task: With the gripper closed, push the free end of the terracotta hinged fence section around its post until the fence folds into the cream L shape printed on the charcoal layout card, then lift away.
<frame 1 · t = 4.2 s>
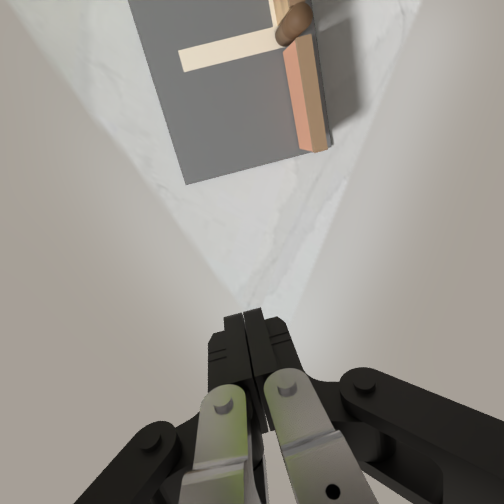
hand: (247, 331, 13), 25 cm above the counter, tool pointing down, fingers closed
layout card: (234, 55, 31), on the counter
hinged fence section: (304, 99, 30), point 3 cm above the counter, hinge at 0.0°
fixed fence section: (284, 35, 31), resting on layout card
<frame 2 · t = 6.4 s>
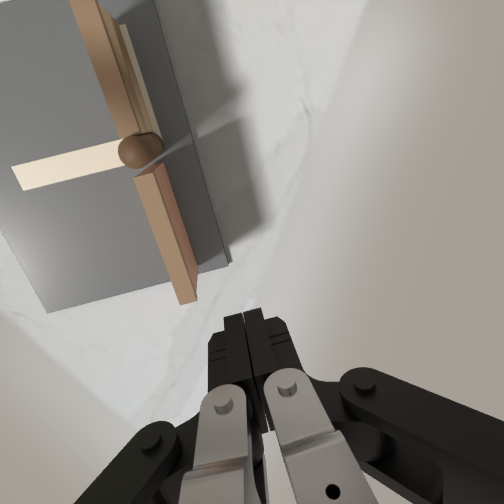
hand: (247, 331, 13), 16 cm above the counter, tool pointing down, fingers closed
layout card: (89, 168, 25), on the counter
hinged fence section: (172, 230, 24), point 3 cm above the counter, hinge at 0.0°
fixed fence section: (151, 145, 24), resting on layout card
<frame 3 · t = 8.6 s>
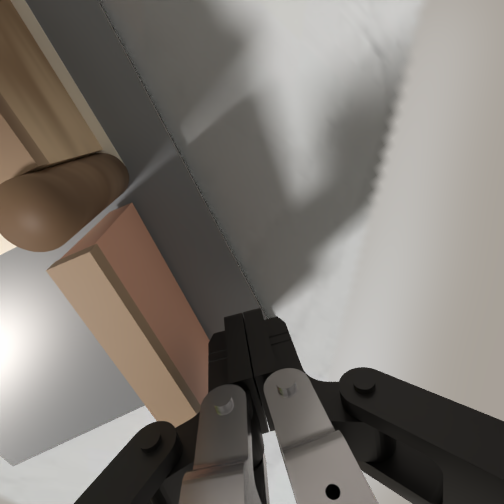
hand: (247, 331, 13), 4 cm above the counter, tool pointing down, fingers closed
layout card: (10, 237, 14), on the counter
hinged fence section: (165, 331, 13), point 3 cm above the counter, hinge at -3.0°, touching gripper
fixed fence section: (105, 176, 13), resting on layout card
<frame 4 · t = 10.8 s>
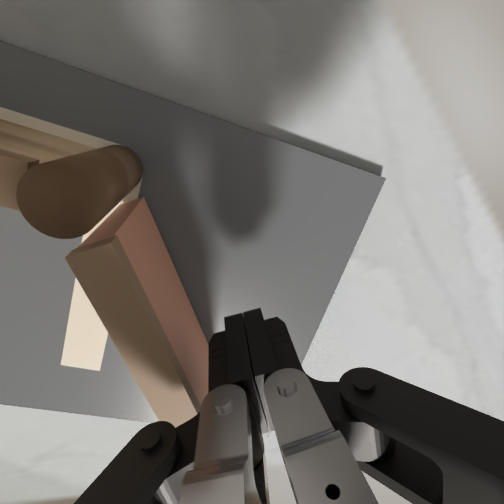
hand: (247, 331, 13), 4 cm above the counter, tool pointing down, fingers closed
layout card: (112, 276, 15), on the counter
hinged fence section: (167, 328, 13), point 3 cm above the counter, hinge at -54.9°, touching gripper
fixed fence section: (119, 168, 13), resting on layout card
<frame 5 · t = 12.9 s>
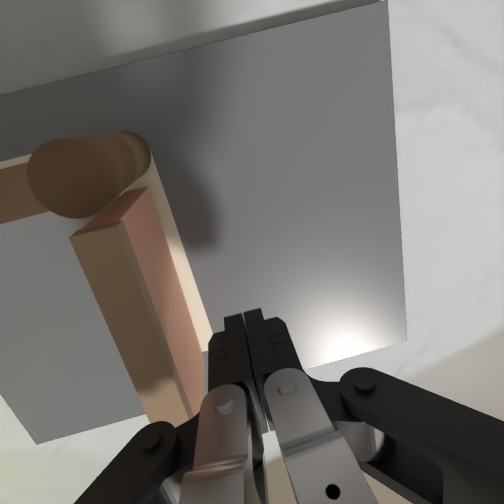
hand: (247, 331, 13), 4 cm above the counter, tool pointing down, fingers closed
layout card: (180, 259, 15), on the counter
hinged fence section: (161, 319, 12), point 3 cm above the counter, hinge at -92.2°
fixed fence section: (127, 155, 13), resting on layout card
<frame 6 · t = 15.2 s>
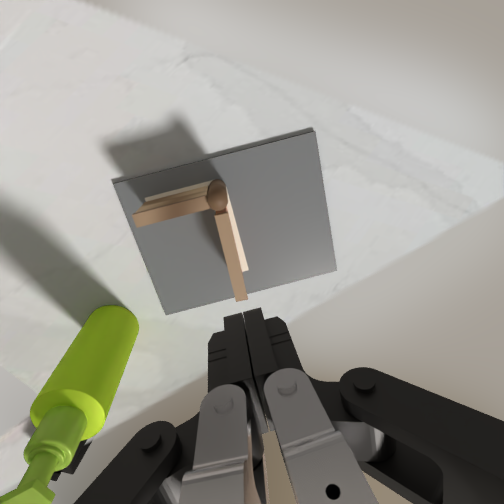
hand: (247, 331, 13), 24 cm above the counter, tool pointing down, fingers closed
layout card: (234, 229, 37), on the counter
black block: (65, 436, 46), on the counter
hinged fence section: (231, 249, 34), point 3 cm above the counter, hinge at -92.2°
fixed fence section: (217, 187, 34), resting on layout card
soap dispenser: (110, 327, 40), on the counter
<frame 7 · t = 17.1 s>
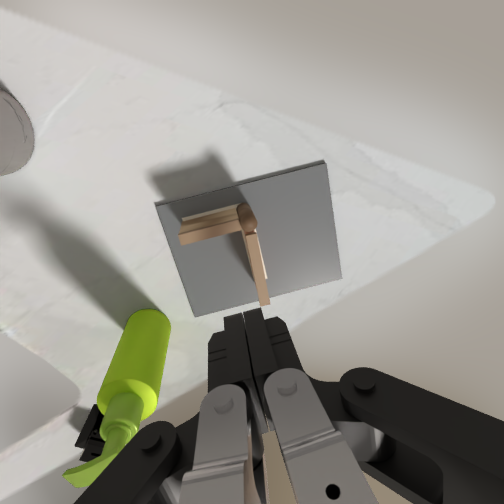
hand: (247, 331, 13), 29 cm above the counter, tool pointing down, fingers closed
layout card: (256, 244, 43), on the counter
black block: (103, 426, 52), on the counter
hinged fence section: (255, 261, 40), point 3 cm above the counter, hinge at -92.2°
fixed fence section: (243, 209, 41), resting on layout card
soap dispenser: (145, 328, 46), on the counter
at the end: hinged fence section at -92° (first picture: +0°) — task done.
